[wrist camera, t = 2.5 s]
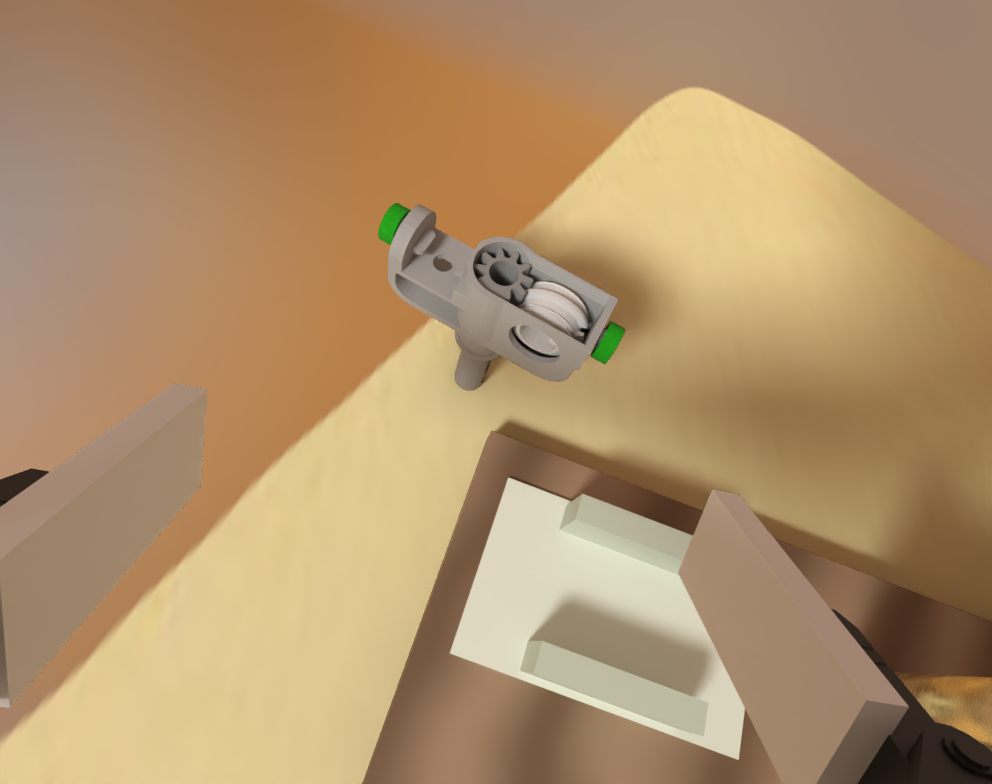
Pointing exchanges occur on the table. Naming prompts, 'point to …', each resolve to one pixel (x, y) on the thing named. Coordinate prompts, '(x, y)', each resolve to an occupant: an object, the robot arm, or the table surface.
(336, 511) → the table surface
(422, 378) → the table surface
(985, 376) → the table surface
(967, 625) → the board
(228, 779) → the table surface
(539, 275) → the mechanical component
